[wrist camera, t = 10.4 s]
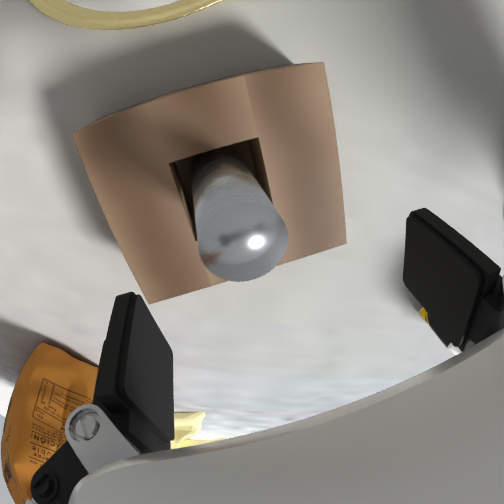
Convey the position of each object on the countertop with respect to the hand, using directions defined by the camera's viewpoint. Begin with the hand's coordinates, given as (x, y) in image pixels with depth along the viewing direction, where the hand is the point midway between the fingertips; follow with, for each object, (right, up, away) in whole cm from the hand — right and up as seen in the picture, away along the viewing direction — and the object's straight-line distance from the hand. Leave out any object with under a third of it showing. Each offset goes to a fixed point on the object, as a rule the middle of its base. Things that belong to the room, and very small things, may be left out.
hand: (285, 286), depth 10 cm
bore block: (-4, +7, +11) cm, 14 cm away
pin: (-3, +7, +11) cm, 13 cm away
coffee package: (-23, -13, +19) cm, 33 cm away
